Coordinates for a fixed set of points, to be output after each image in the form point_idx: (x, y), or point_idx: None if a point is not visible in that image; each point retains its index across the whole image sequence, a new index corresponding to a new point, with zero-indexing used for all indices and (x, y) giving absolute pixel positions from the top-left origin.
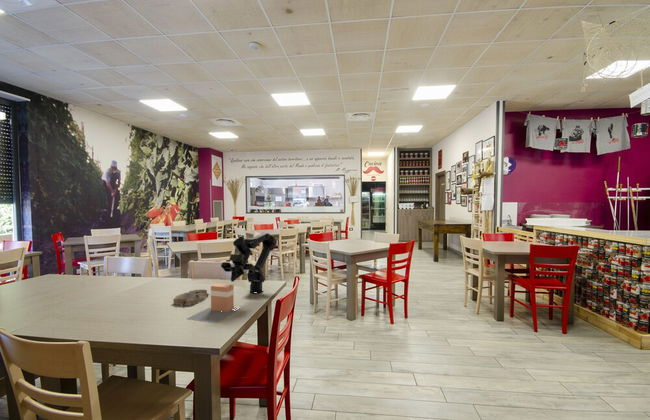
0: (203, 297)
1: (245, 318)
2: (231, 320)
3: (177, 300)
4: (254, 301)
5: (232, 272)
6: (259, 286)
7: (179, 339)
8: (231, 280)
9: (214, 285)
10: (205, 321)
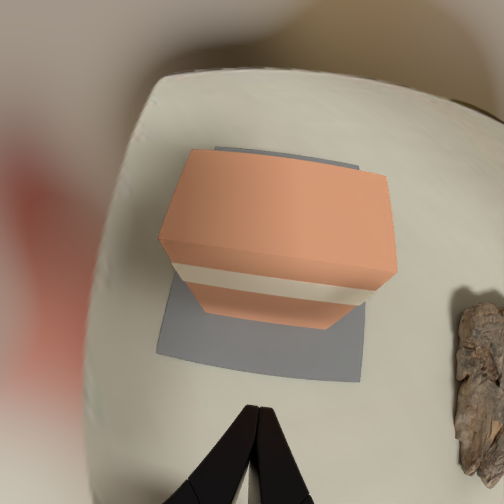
0: (468, 411)
1: (114, 209)
2: (166, 182)
3: None
4: (135, 465)
5: None
6: None
7: (267, 81)
8: (260, 407)
9: (370, 193)
10: (265, 151)
